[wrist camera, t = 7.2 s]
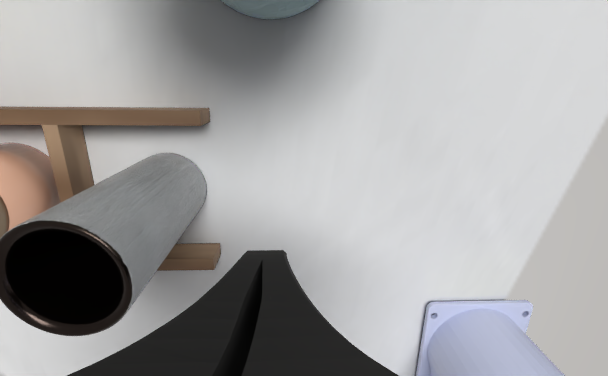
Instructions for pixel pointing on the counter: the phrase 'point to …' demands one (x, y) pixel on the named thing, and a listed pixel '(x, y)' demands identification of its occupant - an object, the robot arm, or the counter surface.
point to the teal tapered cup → (270, 7)
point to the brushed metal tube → (99, 246)
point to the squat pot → (24, 184)
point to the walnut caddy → (75, 163)
